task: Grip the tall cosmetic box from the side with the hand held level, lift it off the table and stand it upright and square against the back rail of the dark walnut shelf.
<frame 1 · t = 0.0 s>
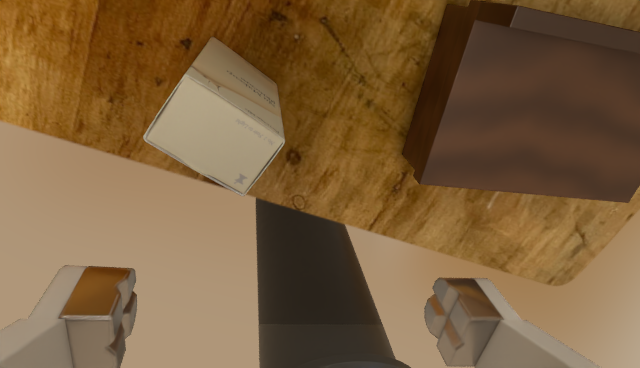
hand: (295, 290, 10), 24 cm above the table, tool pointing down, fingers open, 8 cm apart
cosmetic box: (229, 81, 31), on the table
shelf: (529, 102, 35), on the table
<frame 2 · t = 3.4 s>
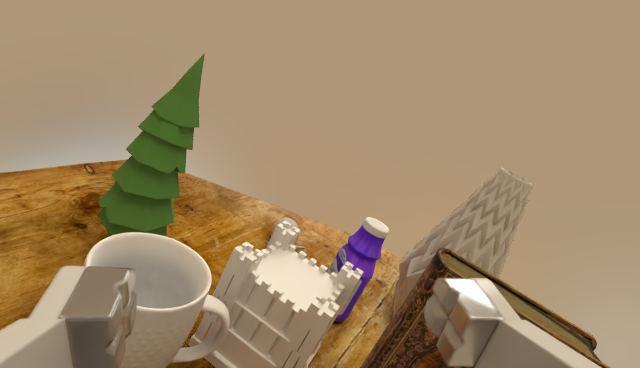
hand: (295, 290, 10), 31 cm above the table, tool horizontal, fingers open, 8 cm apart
decorative tree: (121, 254, 54), on the table
figurine: (286, 271, 69), on the table
castle model: (264, 354, 50), on the table
bottle: (327, 310, 64), on the table
vase: (412, 327, 72), on the table
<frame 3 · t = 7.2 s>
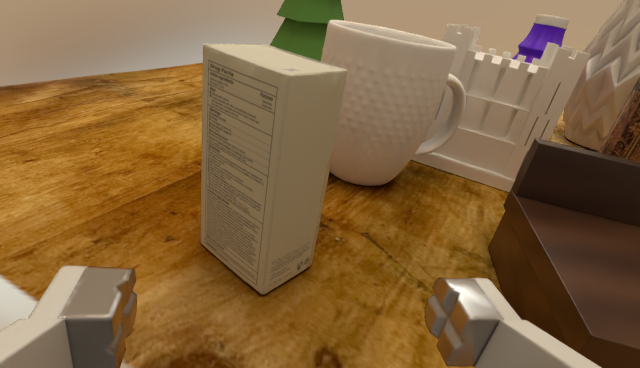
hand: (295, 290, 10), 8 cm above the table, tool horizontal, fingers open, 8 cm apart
decorative tree: (295, 109, 53), on the table
castle model: (474, 162, 47), on the table
bottle: (503, 136, 60), on the table
vase: (591, 145, 65), on the table
cosmetic box: (252, 257, 24), on the table
mug: (367, 173, 39), on the table
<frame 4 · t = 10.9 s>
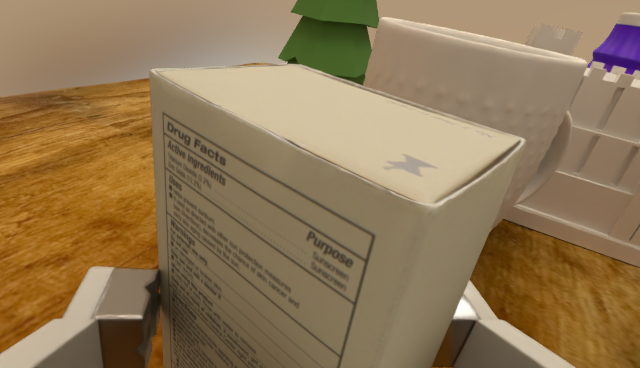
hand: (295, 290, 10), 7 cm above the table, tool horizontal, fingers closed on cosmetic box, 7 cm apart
decorative tree: (312, 133, 42), on the table
castle model: (552, 208, 35), on the table
bottle: (566, 164, 49), on the table
mug: (422, 235, 27), on the table
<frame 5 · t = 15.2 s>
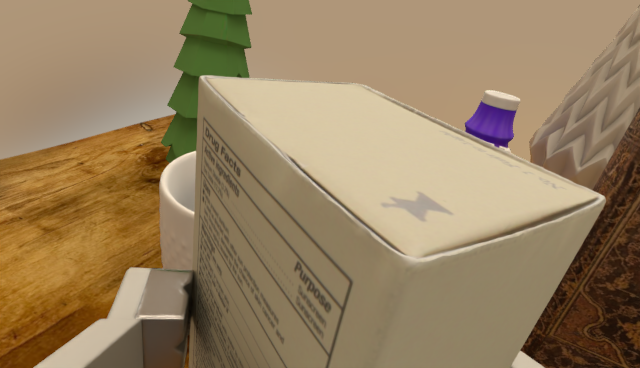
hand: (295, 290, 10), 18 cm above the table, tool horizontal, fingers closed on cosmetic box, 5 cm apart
decorative tree: (205, 200, 46), on the table
bottle: (453, 220, 53), on the table
vase: (558, 221, 58), on the table
mug: (248, 320, 32), on the table
when the fingers open (12 cm above the table, at t = 19.4 s): cosmetic box stays where it is, resting on shelf.
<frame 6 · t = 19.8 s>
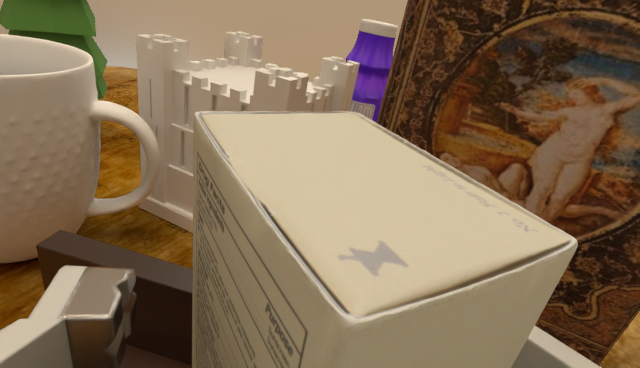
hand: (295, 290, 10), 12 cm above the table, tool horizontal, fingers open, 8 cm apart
decorative tree: (63, 137, 43), on the table
castle model: (252, 210, 37), on the table
book: (439, 319, 28), on the table
bottle: (346, 166, 50), on the table
mug: (40, 237, 28), on the table
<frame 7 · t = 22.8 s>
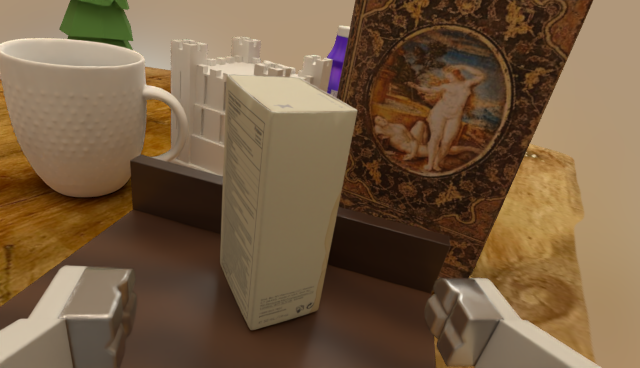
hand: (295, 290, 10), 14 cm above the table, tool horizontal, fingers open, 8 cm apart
decorative tree: (104, 120, 54), on the table
castle model: (253, 172, 48), on the table
book: (387, 241, 39), on the table
bottle: (329, 145, 61), on the table
cosmetic box: (263, 288, 24), point 5 cm above the table, touching shelf
mug: (102, 184, 40), on the table
shelf: (235, 366, 24), on the table
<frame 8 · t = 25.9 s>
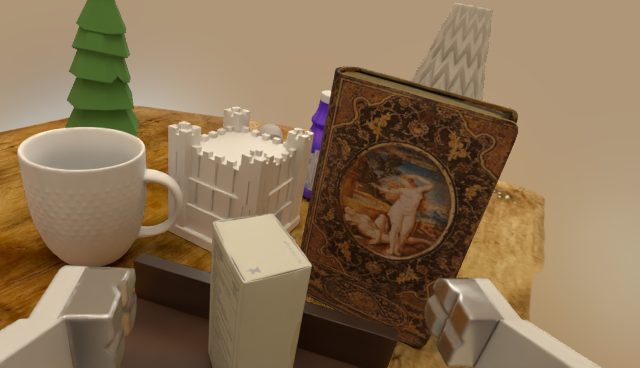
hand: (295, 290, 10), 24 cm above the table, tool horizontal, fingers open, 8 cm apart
decorative tree: (106, 175, 59), on the table
figurine: (273, 169, 71), on the table
castle model: (242, 230, 53), on the table
book: (359, 303, 45), on the table
bottle: (314, 193, 66), on the table
vase: (409, 197, 72), on the table
mug: (106, 251, 45), on the table
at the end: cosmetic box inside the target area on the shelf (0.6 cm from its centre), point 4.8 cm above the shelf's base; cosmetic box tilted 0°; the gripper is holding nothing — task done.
